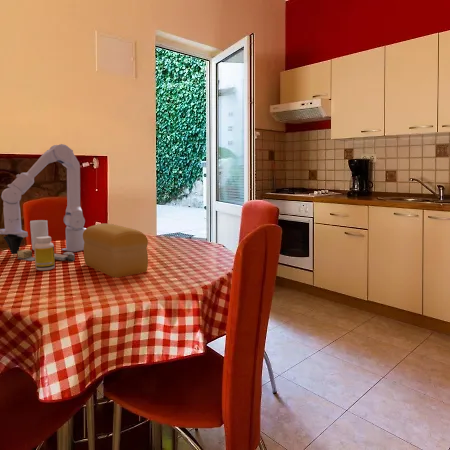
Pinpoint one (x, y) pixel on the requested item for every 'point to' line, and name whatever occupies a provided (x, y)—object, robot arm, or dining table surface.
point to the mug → (38, 230)
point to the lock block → (25, 253)
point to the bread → (115, 250)
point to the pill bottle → (44, 253)
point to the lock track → (28, 258)
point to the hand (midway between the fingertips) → (14, 253)
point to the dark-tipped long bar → (68, 257)
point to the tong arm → (61, 256)
